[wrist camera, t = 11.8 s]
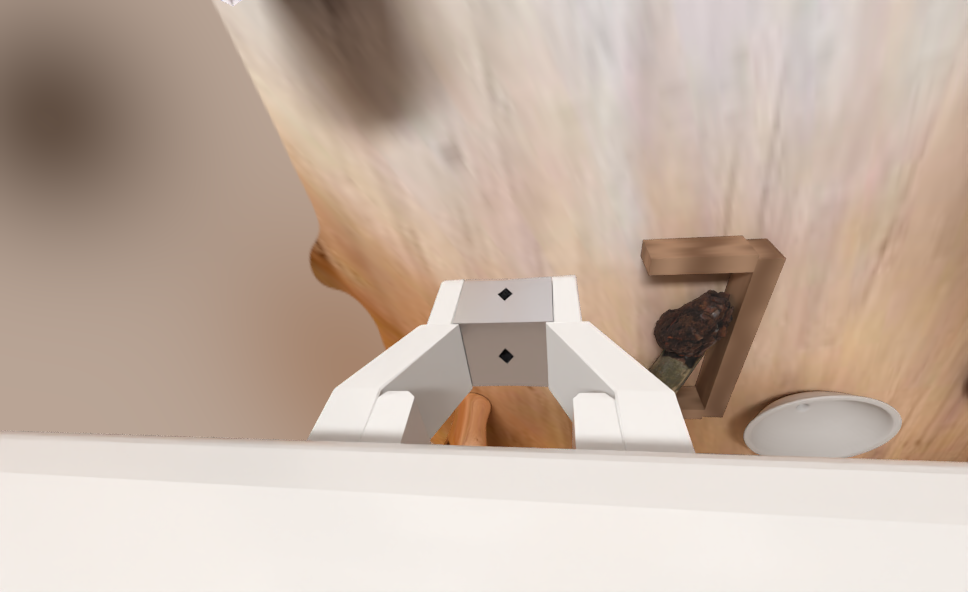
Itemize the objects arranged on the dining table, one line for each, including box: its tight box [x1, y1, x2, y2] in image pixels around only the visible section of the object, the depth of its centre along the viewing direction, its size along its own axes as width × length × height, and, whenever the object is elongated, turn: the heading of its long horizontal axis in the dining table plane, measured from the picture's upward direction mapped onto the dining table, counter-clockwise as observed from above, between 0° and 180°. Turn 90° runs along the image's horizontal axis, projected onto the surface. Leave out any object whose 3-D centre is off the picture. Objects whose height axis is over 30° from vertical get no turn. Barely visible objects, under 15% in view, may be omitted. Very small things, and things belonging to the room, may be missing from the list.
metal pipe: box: [649, 290, 734, 395], centre depth 49 cm, size 18×7×6 cm, turn 171°
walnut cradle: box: [641, 236, 786, 419], centre depth 48 cm, size 12×26×4 cm, turn 6°
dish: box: [743, 391, 902, 458], centre depth 53 cm, size 18×14×5 cm
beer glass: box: [444, 393, 491, 446], centre depth 57 cm, size 7×7×15 cm
